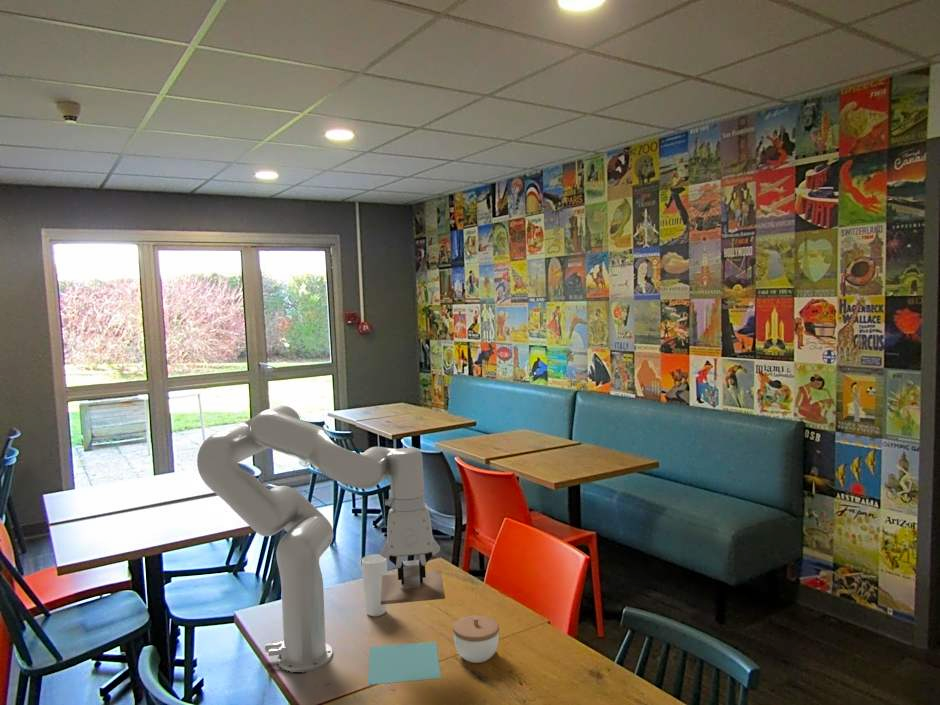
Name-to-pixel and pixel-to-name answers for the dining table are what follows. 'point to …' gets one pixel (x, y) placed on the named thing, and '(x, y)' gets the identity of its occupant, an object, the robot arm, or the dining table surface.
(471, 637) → the lidded jar
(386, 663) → the teal mat
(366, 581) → the drinking glass
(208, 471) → the robot arm
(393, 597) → the walnut cover
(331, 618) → the dining table surface
